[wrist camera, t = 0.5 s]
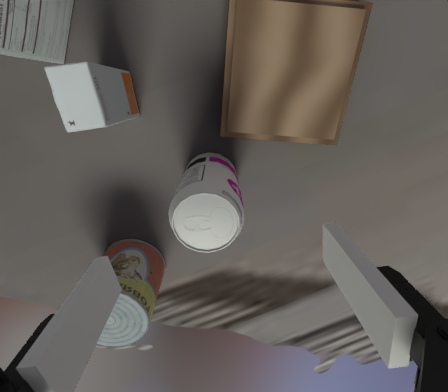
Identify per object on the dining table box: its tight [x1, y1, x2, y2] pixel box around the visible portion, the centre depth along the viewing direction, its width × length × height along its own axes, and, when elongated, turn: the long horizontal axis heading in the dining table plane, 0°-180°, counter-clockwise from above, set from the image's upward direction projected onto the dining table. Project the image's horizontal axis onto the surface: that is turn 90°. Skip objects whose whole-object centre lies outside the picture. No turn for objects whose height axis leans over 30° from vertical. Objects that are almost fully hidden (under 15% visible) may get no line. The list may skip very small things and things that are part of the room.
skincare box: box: [45, 61, 140, 132], centre depth 29 cm, size 6×4×12 cm
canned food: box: [96, 239, 166, 348], centre depth 41 cm, size 11×11×12 cm
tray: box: [220, 0, 373, 145], centre depth 32 cm, size 16×16×4 cm
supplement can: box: [168, 152, 244, 253], centre depth 33 cm, size 8×8×15 cm
